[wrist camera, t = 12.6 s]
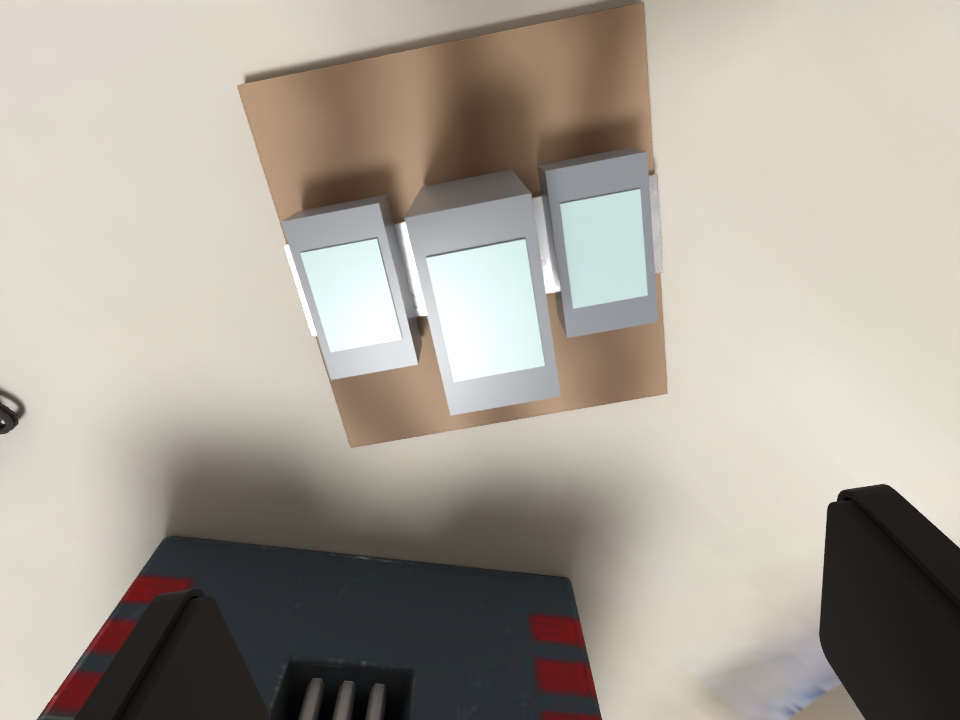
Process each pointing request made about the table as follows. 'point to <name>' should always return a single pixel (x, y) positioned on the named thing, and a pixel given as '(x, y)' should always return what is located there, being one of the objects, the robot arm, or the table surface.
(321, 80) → the board
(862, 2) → the table surface
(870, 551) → the robot arm
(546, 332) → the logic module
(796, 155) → the table surface
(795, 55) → the table surface
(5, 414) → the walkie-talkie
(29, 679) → the table surface
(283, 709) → the power unit
